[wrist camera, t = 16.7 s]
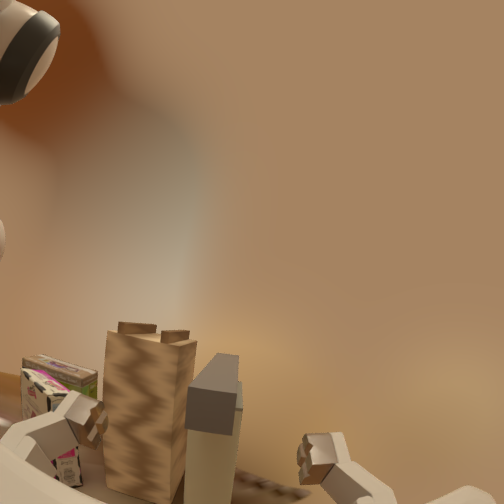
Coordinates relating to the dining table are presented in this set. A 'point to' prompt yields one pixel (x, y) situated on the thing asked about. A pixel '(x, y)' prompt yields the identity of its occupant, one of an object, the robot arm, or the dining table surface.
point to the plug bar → (213, 396)
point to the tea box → (65, 373)
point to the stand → (146, 409)
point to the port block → (212, 462)
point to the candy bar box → (43, 401)
